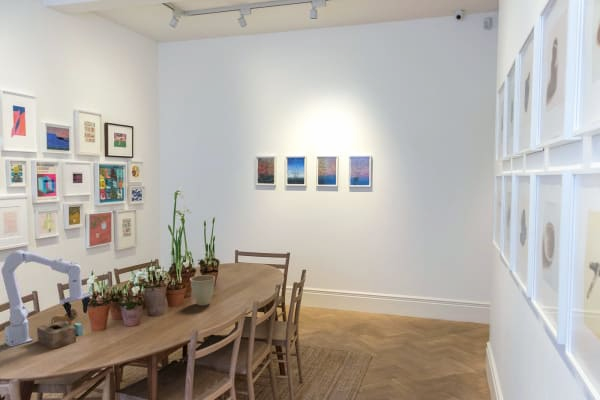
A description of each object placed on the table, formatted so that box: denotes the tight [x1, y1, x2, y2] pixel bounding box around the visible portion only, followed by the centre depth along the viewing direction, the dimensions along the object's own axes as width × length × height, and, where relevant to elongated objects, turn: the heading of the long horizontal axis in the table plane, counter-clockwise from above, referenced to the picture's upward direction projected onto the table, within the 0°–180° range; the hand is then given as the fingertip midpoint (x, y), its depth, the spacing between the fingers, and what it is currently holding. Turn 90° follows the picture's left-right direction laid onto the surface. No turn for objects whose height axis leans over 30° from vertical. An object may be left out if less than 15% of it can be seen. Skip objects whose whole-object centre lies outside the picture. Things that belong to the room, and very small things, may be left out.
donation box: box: [36, 321, 77, 350], centre depth 211 cm, size 11×16×7 cm
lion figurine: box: [50, 308, 80, 326], centre depth 231 cm, size 15×5×9 cm, turn 119°
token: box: [73, 322, 84, 337], centre depth 221 cm, size 2×5×5 cm, turn 50°
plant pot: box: [189, 274, 216, 306], centre depth 268 cm, size 15×15×16 cm
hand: (77, 314), depth 220 cm, fingers open, 7 cm apart
